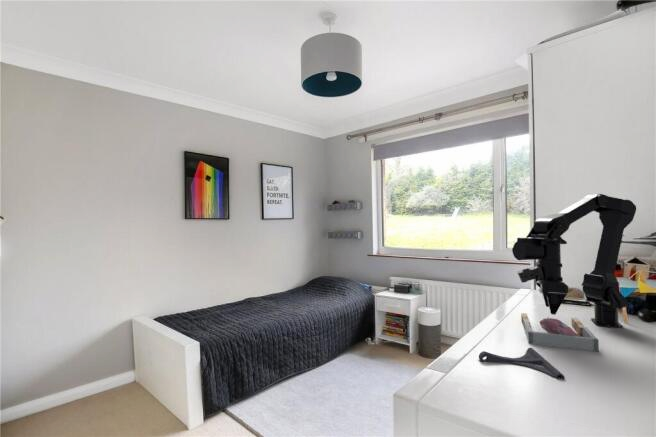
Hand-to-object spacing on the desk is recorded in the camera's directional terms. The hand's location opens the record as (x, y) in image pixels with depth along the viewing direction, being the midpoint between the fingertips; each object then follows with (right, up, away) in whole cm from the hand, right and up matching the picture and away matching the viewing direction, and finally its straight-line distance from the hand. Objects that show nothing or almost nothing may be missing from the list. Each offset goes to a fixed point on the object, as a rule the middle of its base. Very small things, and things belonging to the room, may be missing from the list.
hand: (550, 310), depth 99 cm
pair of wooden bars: (0, -6, 0) cm, 6 cm away
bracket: (-24, -7, -23) cm, 34 cm away
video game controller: (-4, -6, -9) cm, 12 cm away
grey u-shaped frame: (-5, -6, -10) cm, 12 cm away
